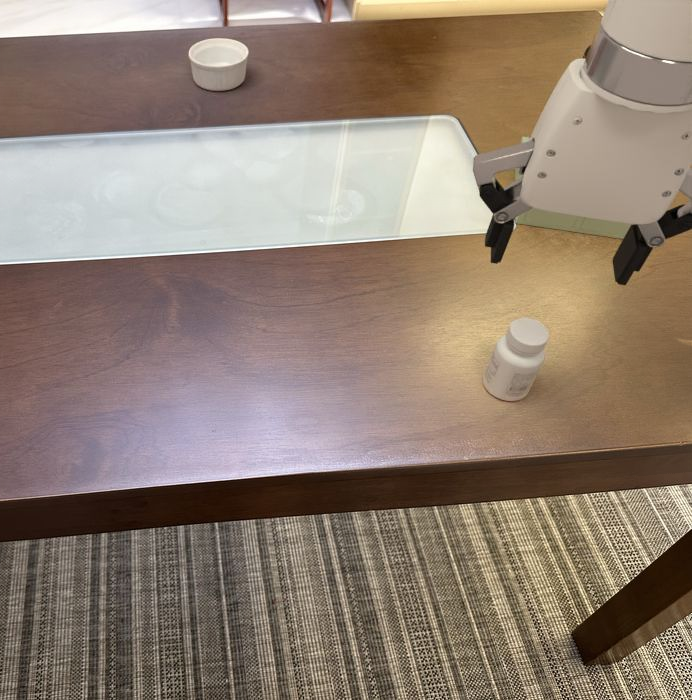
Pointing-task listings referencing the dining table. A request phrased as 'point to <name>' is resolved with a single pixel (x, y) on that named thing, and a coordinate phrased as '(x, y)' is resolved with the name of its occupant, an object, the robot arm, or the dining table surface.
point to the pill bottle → (516, 360)
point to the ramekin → (218, 63)
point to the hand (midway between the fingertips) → (555, 262)
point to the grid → (570, 220)
